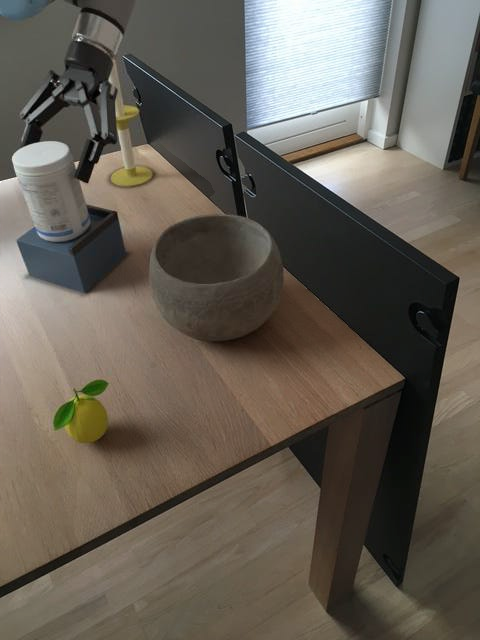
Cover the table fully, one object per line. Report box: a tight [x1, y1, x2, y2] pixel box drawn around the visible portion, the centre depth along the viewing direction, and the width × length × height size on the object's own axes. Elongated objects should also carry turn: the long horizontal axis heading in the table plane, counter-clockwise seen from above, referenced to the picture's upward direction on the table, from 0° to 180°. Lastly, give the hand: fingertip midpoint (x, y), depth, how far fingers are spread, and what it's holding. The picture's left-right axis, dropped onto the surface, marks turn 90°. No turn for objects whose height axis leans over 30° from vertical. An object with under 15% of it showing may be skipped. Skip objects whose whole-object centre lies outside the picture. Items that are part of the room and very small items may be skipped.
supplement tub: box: [11, 140, 90, 242], centre depth 92 cm, size 10×10×15 cm
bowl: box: [148, 213, 285, 342], centre depth 85 cm, size 21×21×15 cm
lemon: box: [52, 379, 110, 444], centre depth 70 cm, size 7×6×10 cm
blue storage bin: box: [15, 203, 127, 293], centre depth 100 cm, size 13×13×10 cm
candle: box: [108, 59, 154, 188], centre depth 118 cm, size 10×10×32 cm
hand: (51, 172), depth 91 cm, fingers open, 13 cm apart
